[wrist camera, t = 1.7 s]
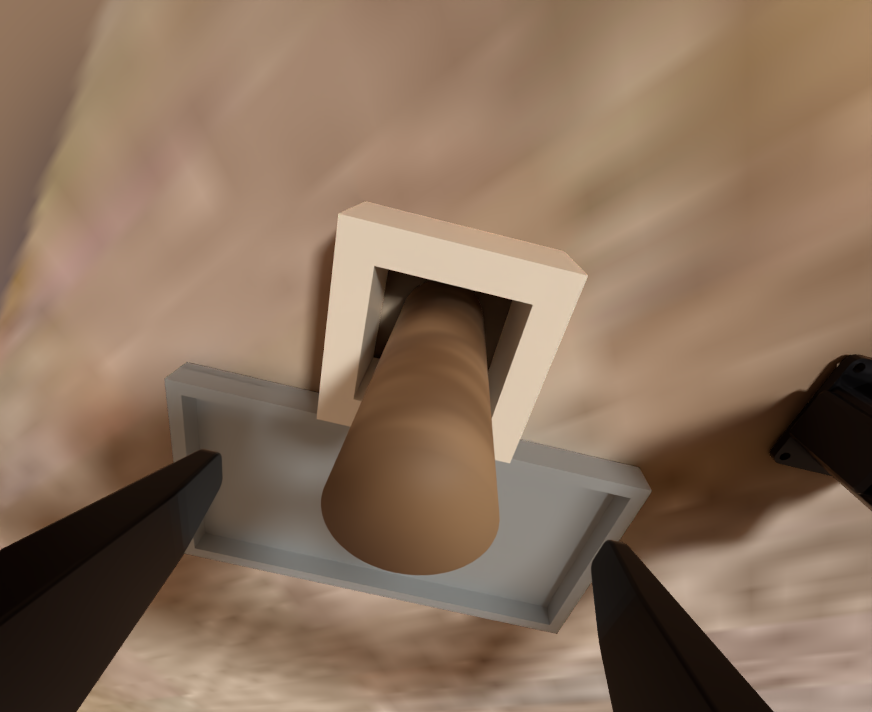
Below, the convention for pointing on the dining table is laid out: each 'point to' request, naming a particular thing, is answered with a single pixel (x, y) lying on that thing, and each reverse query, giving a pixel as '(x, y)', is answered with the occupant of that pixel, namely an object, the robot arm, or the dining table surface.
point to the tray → (331, 564)
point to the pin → (421, 445)
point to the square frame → (456, 265)
